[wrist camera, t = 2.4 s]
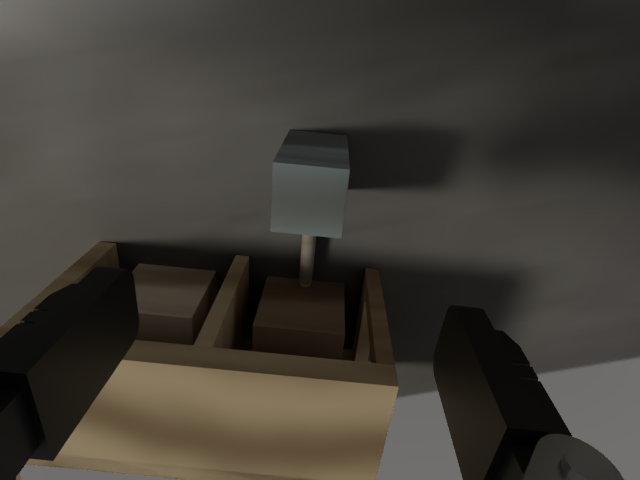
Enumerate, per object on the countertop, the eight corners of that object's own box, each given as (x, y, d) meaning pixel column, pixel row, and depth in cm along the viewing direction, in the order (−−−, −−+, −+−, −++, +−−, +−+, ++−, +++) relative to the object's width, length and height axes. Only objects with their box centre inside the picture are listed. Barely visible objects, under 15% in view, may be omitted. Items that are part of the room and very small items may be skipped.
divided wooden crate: (99, 241, 24) (-22, 346, 16) (378, 269, 24) (398, 386, 16) (116, 337, 28) (23, 464, 20) (361, 361, 28) (371, 497, 20)
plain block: (139, 262, 25) (99, 309, 21) (216, 270, 25) (191, 318, 21) (148, 323, 27) (112, 377, 23) (218, 330, 27) (196, 385, 23)
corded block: (272, 127, 21) (249, 159, 16) (364, 137, 21) (372, 172, 16) (265, 335, 27) (247, 409, 22) (335, 342, 27) (335, 417, 22)
